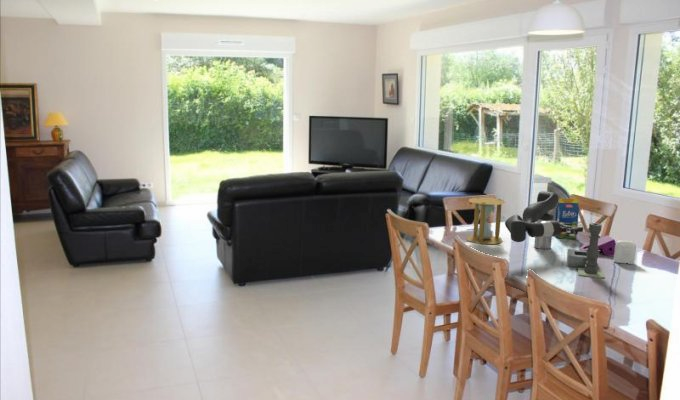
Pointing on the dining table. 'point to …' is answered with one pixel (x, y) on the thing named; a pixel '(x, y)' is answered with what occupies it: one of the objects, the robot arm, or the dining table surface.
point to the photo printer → (625, 252)
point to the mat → (599, 274)
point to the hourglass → (484, 232)
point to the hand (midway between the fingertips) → (577, 227)
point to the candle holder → (593, 249)
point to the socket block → (576, 258)
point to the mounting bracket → (603, 245)
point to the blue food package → (567, 215)
